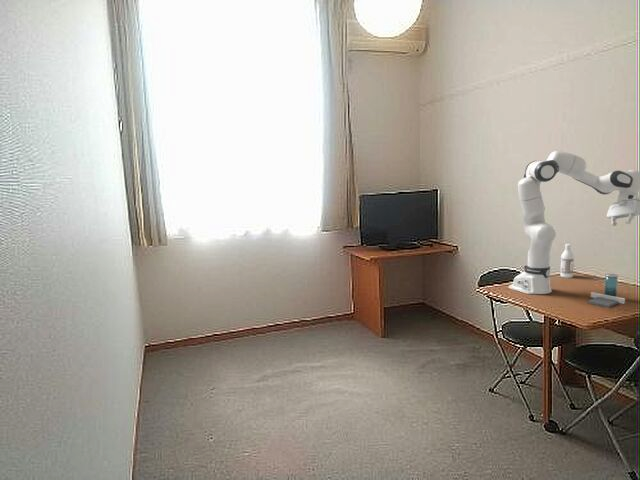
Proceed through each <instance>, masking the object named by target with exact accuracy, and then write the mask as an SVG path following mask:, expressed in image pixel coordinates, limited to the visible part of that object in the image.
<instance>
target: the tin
mask: <svg viewBox="0 0 640 480" xmlns="http://www.w3.org/2000/svg"><path fill="white" fill-rule="evenodd" d="M618 278H619V275H618V274H615V273H605V276H604V279H605V281H604V295H609V296H615V297H617V294H618V293H617V291H618Z"/></svg>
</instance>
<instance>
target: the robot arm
mask: <svg viewBox="0 0 640 480" xmlns="http://www.w3.org/2000/svg"><path fill="white" fill-rule="evenodd" d="M586 169H587V162H586V160H585V159H584V158H583V157H581V156H579V155H576V154H574V153H571V152H567V151H561V150H553V151H552V152H551V153H550V154H549V155H548V156H547V159H546V160H533V161H530V163H528V164H527V165H526V166H525V171H524V174H523V175H524V176H523V178H521V179H520V180H519V181H518V183H517V192H518V193H517V194H518V198H519V202H520V203H519V204H520V207H521V211H522V214H523V224H524V225H523V226H524V227H523V230H524V233H525V235H526V236H527V238H529V239H530V246H529V249H528V251H527V264H526V265H524V266H523V267H522V269H523V271H522V272H520V273H519V274H517V275H516V276H515V277H514V278H513V282H512V283H511V284H509V286H508V289H510V290H513V291H517V292H521V293H524V294H528V295H546V294H547V295H548V294H550V293H552V291H553V290H552V288H551V282H550V275H551V266H550V256H551V255H550V254H551V249H552V245H553V241H554V240H555V239H556V230H555V228H554V227H553V226H552V225H551V224H549V223H546V221H545V220H546V219H545V211H546V210H545V209H546V207H545V205H544V200H543V197H542V192H541V190H540V189H541V183H547V182H549V181H552V180H554V178H555V176H556V175H557V173H560V174H563V175H566V176H569V177H571V178H572V179H574V180H575V181H577V182H580V183H582V184H584V185H586V186H588V187H590V188H592V189H594V190H595V191H596V192H597V193H598V194H601V195H609V194H611V193H612V192H614V191H618V197H617V201H616V202H613V203H612V204H611V205H609V208H608V210H607V212H606V218H608V219H610V220H611V223H610V224H611V226H613V227H615V226H617V219H623V218H627V219H625V224H627V225H631V224H632V220H633V219H634V218H635V216H640V196H639V193H640V171H638V170H635V169H629V170H623V171H622V170H614V171H612V172H609V173H607V174H605V175H601V176H598V175H595V174H593V173H591V172H589V171H587V170H586Z"/></svg>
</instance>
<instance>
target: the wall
mask: <svg viewBox="0 0 640 480" xmlns="http://www.w3.org/2000/svg"><path fill="white" fill-rule="evenodd" d="M596 297H600V298H606V299H611V300H616V301H618V304H623V305H625V304H626V297H625V298H624V297H619V296H616V297H615V296H609V295H604V294H603V293H599V292H594V291H591V292H590V298H591V299H594V298H596Z"/></svg>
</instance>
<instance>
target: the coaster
mask: <svg viewBox="0 0 640 480" xmlns="http://www.w3.org/2000/svg"><path fill="white" fill-rule="evenodd" d="M587 304H590V305H595V306H598V307H599V306H600V307H604V308H612V307H614V306H615V305H618V304H619V303H618V301H616V300H611V299H606V298H600V297H596V298H591V299H590V300H587Z"/></svg>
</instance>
